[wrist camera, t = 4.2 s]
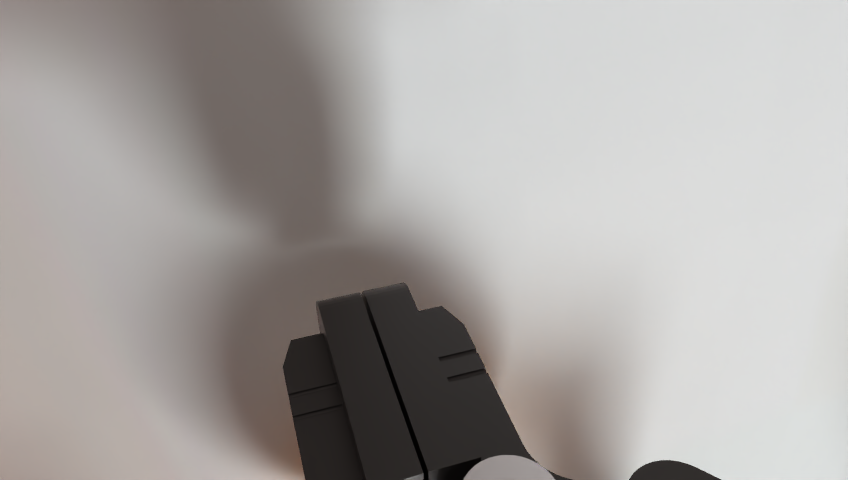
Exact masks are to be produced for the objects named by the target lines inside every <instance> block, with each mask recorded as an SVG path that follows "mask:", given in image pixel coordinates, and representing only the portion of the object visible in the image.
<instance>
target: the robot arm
mask: <svg viewBox="0 0 848 480" xmlns="http://www.w3.org/2000/svg"><path fill="white" fill-rule="evenodd" d="M361 296H362V297H361ZM316 308H317V315H318V321H319V328H320V334H317V335H312V336H308V337H304V338H299V339H295V340H291V342H290V346H289V349H288V352H287V355H286V358H285V362H284V365H283V370H284V375H285V380H286V385H287V390H288V395H289V400H290V405H291V410H292V415H293V420H294V425H295V430H296V435H297V440H298V445H299V450H300V455H301V460H302V465H303V470H304V475H305V480H572V479H567V478H564V477H561V476H559V475H556V474H554V473H552V472H550V471H548V470H547V469H545V468H544V467H542V466H541V465H540V464H538V463H537V462H536V461H535V460H534V459H533V458H532V457H531V456H530V454H529V453H528V452H527V450H526V449H525V447H524V445H523V444H522V442H521V440H520V438H519V435H518V433H517V431H516V429H515V427H514V425H513V423H512V421H511V419H510V417H509V415H508V413H507V411H506V409H505V407H504V405H503V403H502V401H501V399H500V397H499V395H498V393H497V391H496V389H495V387H494V385H493V383H492V381H491V379H490V377H489V375H488V373H486V370H485V367H484V364H483V362H482V360H481V358H480V356H479V354H478V353H476V348H475V346H474V344H473V342H472V340H471V338H470V336H469V334H468V332H467V330H466V328H465V326H464V324H463V323H461V322H460V321H459V320H458V319H457V318H455V317H454V316H453V315H452V314H451V313H449V312H448V311H447V310H446V309H445V308H443V307H442V306H440V307H435V308H431V309H426V310H422V311H418V309H417V307H416V305H415V302H414V300H413V298H412V296H411V293H410V291H409V289H408V287H407V285H406V284H405V283H400V284H396V285H391V286H386V287H382V288H377V289H372V290H368V291H363V292H362V295H360V293H355V294H350V295H346V296H341V297H336V298H332V299H327V300H322V301H318V302H316ZM629 480H721V479H719V478H717V477H714V476H712V475H710V474H708V473H706V472H704V471H702V470H700V469H698V468H696V467H694V466H691V465H689V464H686V463H682V462H678V461H671V460H661V461H655V462H651V463H648V464H645V465H644V466H642V467H640V468H639V469H638V470H637V471H635V472H634V473H633V475H632V476H631V478H630V479H629Z"/></svg>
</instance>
